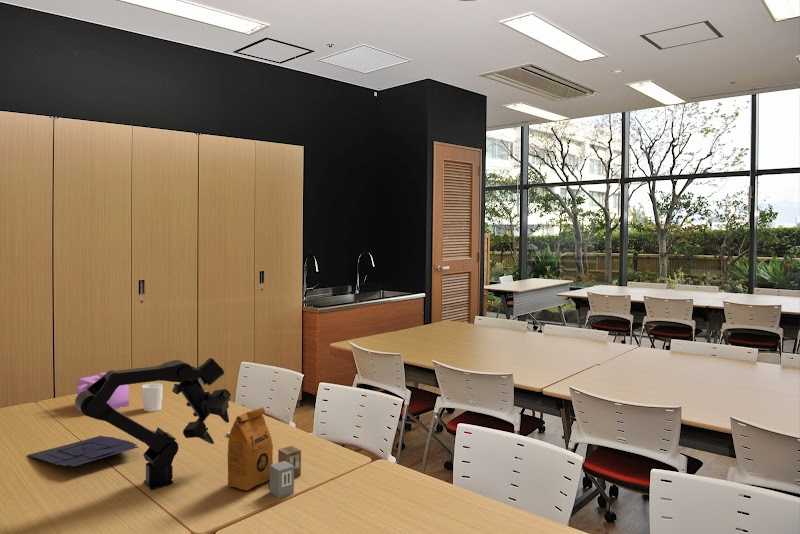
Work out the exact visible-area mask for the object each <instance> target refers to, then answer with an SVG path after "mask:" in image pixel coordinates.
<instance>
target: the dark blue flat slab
mask: <svg viewBox="0 0 800 534" xmlns="http://www.w3.org/2000/svg"><path fill="white" fill-rule="evenodd" d="M138 448H139V446H138V444H137V443H135V442H132V441H130V440H125V439H121V438H116V437H112V436H104V435H98V436H95V437H91V438H87V439H83V440H80V441H76V442H73V443H70V444H64V445H61V446H58V447H52V448H48V449H44V450H41V451H37V452H34V453H33V452H32V453H30V454H27V456H28V457H31V458H34V459H39V460H42V461H45V462H48V463H51V464H53V465H57V466H58V465H60V466H64V467H66V466H70V467H77V466H81V465H83V464H86V463H91V462H94V461H96V460H99V459H100V460H101V459H103V458H107V457H110V456H113V455H118V454H121V453H124V452H128V451H131V450H134V449H138Z"/></svg>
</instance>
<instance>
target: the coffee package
mask: <svg viewBox="0 0 800 534" xmlns="http://www.w3.org/2000/svg"><path fill="white" fill-rule="evenodd" d="M265 413H266V410H265V408H264V407H259V408H257V409H253V410H250V411H246V412H243V413H242V414H239V415H238V416H236V418H235V420H234V422H233V425H232V426H231V429H230V431H229V432H230V434H229V436H228V443H227V486H228V487H231V488H237V489H239V490H242V491H249V490H251V489H252V488H254V487H256V486H260V485H262V484H264V483H265V482H268V481H270V465H272V464H274V462H273V459H274V458H273V457H274V456H273V454H274V453H273V451H274V445H273V438H272V435H271V432H270V430H269V427H268V426H267V424H266V420H265V417H264V414H265Z"/></svg>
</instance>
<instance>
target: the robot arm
mask: <svg viewBox="0 0 800 534" xmlns="http://www.w3.org/2000/svg"><path fill="white" fill-rule="evenodd" d="M224 375H225V371H224V369H223V367H221V366H220V365H219V364H218V363H217V362H216V361H215V359H214V358H213V357H209V358H208V359H207V360H206V361H204V363H202V364H201V365H200V366H198V367H195V366H192V365H190V363H187V362H185V361H183V360H181V359H174V360H173V359H172V360H169V361H166V362H163V363H162V364H159V365H155V366H146V367H145V366H144V367H139V368H128V369H119V370H118V369H117V370H114V369H112V370H108V371H106V374H105V375H104V376H103V377H102V378H100V379H99V380H98V381H96V382H95V383H93V384H92V385H91V386H90V387H89V388H88V389H87V390H86V391H83V392H81V393H80V394H79V395H78V394H77V396H76V397H75V399H74V400H75V401H74V405H75V408H77V410H79V411H80V412H81V413H82V414H83V415H84V416H86V417H89V418H92V419H94V420H96V421H97V420H98V421H101V422H106V423H108V424H110V425H112V426H114V428H115V427H116V428H117V429H118V430H121V431H123V432H124V433H126V434H128V435H129V436H131V437H132V438H135V439H137V440H138V441H139V442H141V443H144V444H145V445H146V446H147V447H148V448H147V450H145V452H144V453H143V454H142V456H143V458H144V460H145V461H146V462H145V479H144V480H143V483H144V484H145V485H146V486H147V487H148V489H150V490H154V489H157V488H161V487H165V486H168V485H169V486H170V485H172V484H173V483H174V481H173V475H174V474H173V473H174V472H173V469H174V468H173V465H172V464H173V461H174V459H175V456H176V455H177V453H178V451H179V443H178V442H177V441H176V440H177V438H176V437H175V436H173V435H172V434H170V433H169V431H168V432H167V431H164V430H163V429H161V428H160V427H159V426H157V428H156V430H152V429H149V428H147V427H145V426H144V425H142V424H140V423H139V422H137V421H135V420H134V419H133V418H131V417H129V416H127V415H125V414H123V413H121V412H120V411H118V410H117V409H113V408H112V407H111V406H110V405H109V404H108V403H107V401H108V400H109V399H110V398H111V396H112V395H113V393H114V392H115V390H116V389H117V388H118V387H119V386H120V385H128V384H129V385H134V384H142V383H151V382H152V383H153V382H159V381H161V382H163V381H164V382H170V383H174V384H173V387H172V390H171V391H172V392H173V393H174V394H176V395H179V394H180V393H182V395H183V397H184V398H185V399H186V401H187V402H186V403H185V405H186V406H187V407H191V409H192V410H193V413H192V416H193V417H198V418H197V419H196V421H189V422H188V423H187V425H186V426H185V427H184V428H183V431H182V435H183V436H184V437H185V438H186V439H191V438H192V439H193V438H199V439H201V440H203V441H204V442H206V443H208V444H211V445H214V444H215V441H214V439H213V438H212V437H211V435H210V433H209V432H208V430H209V427H207V425H206V423H205V422H206V421H207V419H208V417H210V416H211V415H215V416H218V417H220V418H221V419H222V420H223V421H224V422H225V423H229V422H230V419H229V418H230V417H229V413H228V409H229V407H230V404H229V402H230V401H231V393H230V391H229V390H228V389H225V388H221V389H217V390H213V392H210V391H205V388H204V387H203V386H206V385H207V386H209V387H210V386H211V385H212V384H214V383H215V382H216V381H218V380H219V379H220V378H222V377H223V376H224Z"/></svg>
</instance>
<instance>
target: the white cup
mask: <svg viewBox="0 0 800 534" xmlns="http://www.w3.org/2000/svg"><path fill="white" fill-rule="evenodd" d="M163 387H164V384H162V383H159V382H152V383H151V382H149V383H146V384H142V386H141V391H142V404H143V411H144V412H149V413H150V412H151V413H152V412H158V411H160V410H161V409H162V403H163V394H164V393H163V391H164V390H163V389H164V388H163Z"/></svg>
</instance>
